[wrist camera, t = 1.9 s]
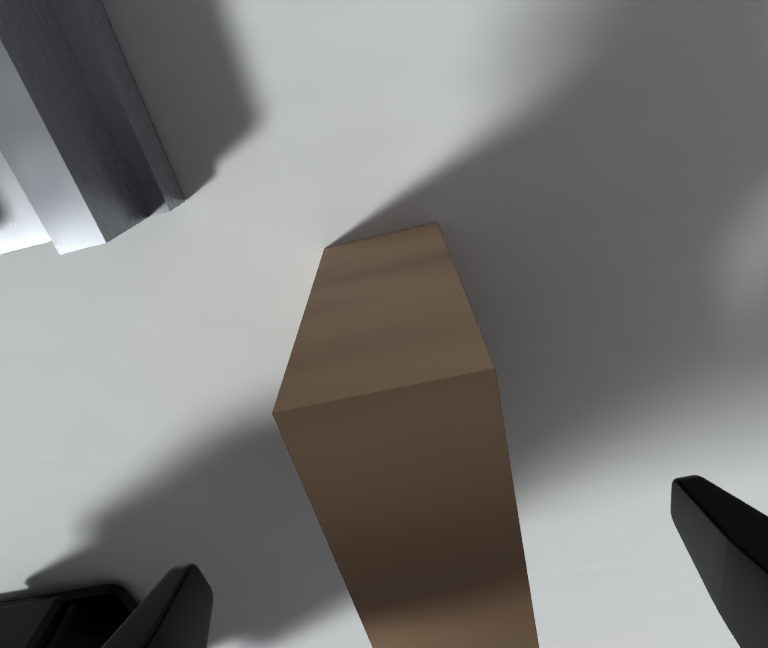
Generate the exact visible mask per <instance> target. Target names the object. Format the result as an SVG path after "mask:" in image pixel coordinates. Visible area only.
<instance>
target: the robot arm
mask: <svg viewBox="0 0 768 648" xmlns="http://www.w3.org/2000/svg"><path fill="white" fill-rule="evenodd" d="M671 516H672V519H673V522H674V524H675V526H676V528H677V530H678V532H679V534H680V536H681V538H682V540H683V542H684V544H685V546H686V548H687V550H688V552H689V554H690V556H691V558H692V560H693V562H694V564H695V566H696V568H697V570H698V572H699V574H700V576H701V578H702V580H703V582H704V584H705V586H706V588H707V590H708V592H709V595H710V597H711V598H712V600H713V602H714V604H715V606H716V608H717V610H718V612H719V613H720V615H721V617H722V618H723V620H724V622H725V623H726V625H727V627H728V628H729V630H730V632H731V633H732V635H733V636H734V638H735V640H736V641H737V643H738V644H739V646H740V648H768V516H766V515H765V514H763V513H761V512H760V511H758V510H756V509H755V508H753V507H751V506H750V505H748V504H746V503H745V502H743V501H741V500H740V499H738V498H736V497H735V496H733V495H731V494H730V493H728V492H726V491H725V490H723V489H721V488H720V487H718V486H716V485H715V484H713V483H711V482H710V481H708V480H706V479H705V478H703V477H701V476H698V475H691V476H686V477H680V478H676V479H674V480H673V482H672V490H671ZM212 605H213V593H212V589H211V587H210V585H209V584H208V582H207V581H206V579H205V577H204V576H203V574H202V573H201V571H200V569H199V568H198V566H197V565H195V564H185V565H179V566H175V567H173V568H172V569H171V570H170V571H169V572H168V573H167V574H166V575H165V576H164V577H163V578H162V580H161V581H160V582H159V583H158V584H157V585H156V586H155V588H154V589H153V590H152V591H151V592H150V593H149V594H148V595H147V597H146V598H145V599H144V600H143V601H142V602H141V603H140V605H139V606H138V605H137V604H136V602H135V601H134V600H133V598H132V597H131V596H130V594H129V593H128V592H127V590H126V589H124V588H123V587H121V586H119V585H115V584H107V585H102V586H96V587H90V588H84V589H78V590H73V591H67V592H61V593H55V594H49V595H44V596H38V597H32V598H26V599H20V600H15V601H9V602H3V603H0V648H207V641H208V634H209V627H210V619H211V612H212Z"/></svg>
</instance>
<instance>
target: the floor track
mask: <svg viewBox="0 0 768 648" xmlns="http://www.w3.org/2000/svg"><path fill="white" fill-rule="evenodd" d="M183 202H185V199H184V197H183V195H182V192H181V190H180V188H179V185H178V183H177V181H176V178H175V176H174V173H173V171H172V169H171V166H170V164H169V162H168V159H167V157H166V155H165V152H164V150H163V148H162V145H161V143H160V141H159V138H158V136H157V134H156V131H155V129H154V126H153V124H152V122H151V119H150V117H149V115H148V112H147V110H146V108H145V105H144V103H143V101H142V98H141V96H140V94H139V91H138V89H137V86H136V84H135V82H134V79H133V77H132V75H131V72H130V70H129V68H128V65H127V63H126V61H125V58H124V56H123V54H122V51H121V49H120V47H119V44H118V42H117V39H116V37H115V35H114V32H113V30H112V28H111V25H110V23H109V21H108V18H107V16H106V14H105V11H104V9H103V7H102V4H101V2H100V0H0V254H2V253H6V252H10V251H14V250H18V249H22V248H26V247H29V246H33V245H37V244H41V243H45V242H49V241H52V242H53V244H54V245H55V247H56V249H57V250H58V252H59V254H64V253H68V252H72V251H76V250H80V249H84V248H88V247H92V246H96V245H100V244H104V243H107V242H109V241H110V240H112V239H114V238H115V237H117V236H118V235H120V234H122V233H123V232H125V231H127V230H128V229H130V228H131V227H133V226H135V225H136V224H138V223H140V222H141V221H143V220H144V219H146V218H148V217H149V216H153V215H157V214H161V213H165V212H169V211H171V210H172V209H174V208H175V207H177V206H179V205H180V204H182V203H183Z"/></svg>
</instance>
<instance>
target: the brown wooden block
mask: <svg viewBox="0 0 768 648" xmlns="http://www.w3.org/2000/svg"><path fill="white" fill-rule="evenodd" d="M272 414H273V416H274V418H275V421H276V423H277V425H278V428H279V430H280V432H281V435H282V437H283V439H284V442H285V444H286V446H287V449H288V451H289V453H290V456H291V458H292V460H293V463H294V465H295V467H296V470H297V472H298V474H299V477H300V479H301V481H302V484H303V486H304V488H305V491H306V493H307V495H308V498H309V500H310V502H311V505H312V507H313V509H314V512H315V514H316V516H317V519H318V521H319V523H320V526H321V528H322V530H323V533H324V535H325V537H326V540H327V542H328V544H329V547H330V549H331V551H332V554H333V556H334V558H335V561H336V563H337V565H338V568H339V570H340V572H341V575H342V577H343V579H344V582H345V584H346V586H347V589H348V591H349V593H350V596H351V598H352V600H353V603H354V605H355V607H356V610H357V612H358V614H359V617H360V619H361V621H362V624H363V626H364V628H365V631H366V633H367V635H368V638H369V640H370V642H371V645H372V647H373V648H539V644H538V638H537V631H536V625H535V619H534V612H533V606H532V600H531V593H530V587H529V581H528V574H527V568H526V562H525V556H524V549H523V543H522V537H521V530H520V524H519V518H518V511H517V505H516V499H515V492H514V486H513V480H512V473H511V467H510V461H509V454H508V448H507V442H506V435H505V429H504V423H503V416H502V410H501V404H500V398H499V391H498V385H497V379H496V372H495V367H494V365H493V362H492V360H491V357H490V355H489V352H488V349H487V347H486V344H485V342H484V339H483V337H482V334H481V332H480V329H479V327H478V324H477V322H476V319H475V316H474V314H473V311H472V309H471V306H470V304H469V301H468V299H467V296H466V294H465V291H464V289H463V286H462V283H461V281H460V278H459V276H458V273H457V271H456V268H455V266H454V263H453V261H452V258H451V256H450V253H449V251H448V248H447V245H446V243H445V240H444V238H443V235H442V233H441V230H440V228H439V225H438V223H437V222H434V223H430V224H426V225H422V226H417V227H413V228H409V229H405V230H400V231H396V232H392V233H388V234H383V235H379V236H375V237H371V238H366V239H362V240H358V241H354V242H349V243H345V244H341V245H337V246H332V247H328V248H324V252H323V255H322V258H321V261H320V264H319V267H318V270H317V274H316V277H315V280H314V283H313V286H312V289H311V293H310V296H309V299H308V302H307V305H306V308H305V311H304V315H303V318H302V321H301V324H300V327H299V330H298V333H297V337H296V340H295V343H294V346H293V349H292V352H291V356H290V359H289V362H288V365H287V368H286V371H285V374H284V378H283V381H282V384H281V387H280V390H279V393H278V397H277V400H276V403H275V406H274V409H273V412H272Z"/></svg>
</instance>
